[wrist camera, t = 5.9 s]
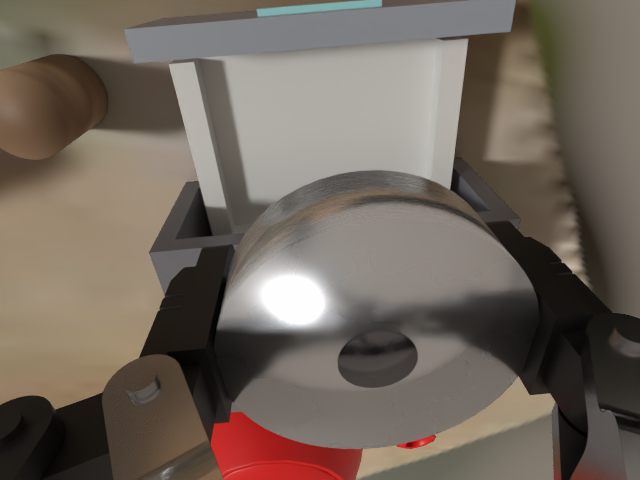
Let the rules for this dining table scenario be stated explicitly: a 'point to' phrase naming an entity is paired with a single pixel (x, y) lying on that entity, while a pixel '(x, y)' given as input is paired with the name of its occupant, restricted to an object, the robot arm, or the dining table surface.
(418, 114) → the grey drawer box
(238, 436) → the teapot
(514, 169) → the dining table surface
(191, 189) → the housing
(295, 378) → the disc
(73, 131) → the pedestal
